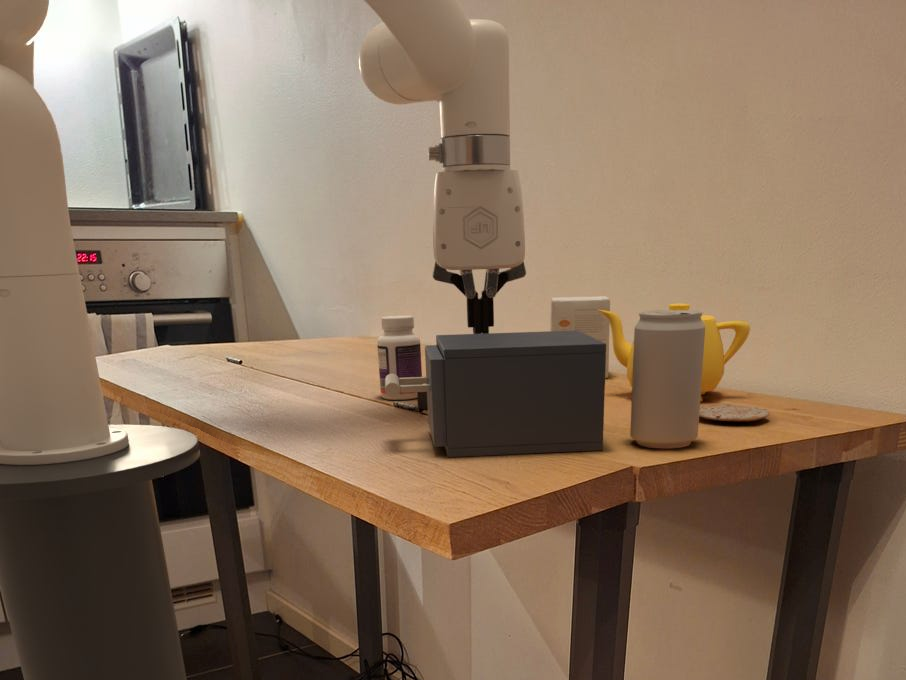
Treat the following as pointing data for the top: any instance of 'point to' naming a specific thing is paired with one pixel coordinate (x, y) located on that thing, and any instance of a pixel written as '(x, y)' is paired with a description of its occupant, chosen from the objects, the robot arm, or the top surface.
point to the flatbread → (733, 412)
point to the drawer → (434, 389)
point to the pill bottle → (399, 353)
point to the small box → (582, 318)
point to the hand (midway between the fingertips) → (480, 333)
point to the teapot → (712, 346)
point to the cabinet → (523, 392)
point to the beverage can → (667, 378)
